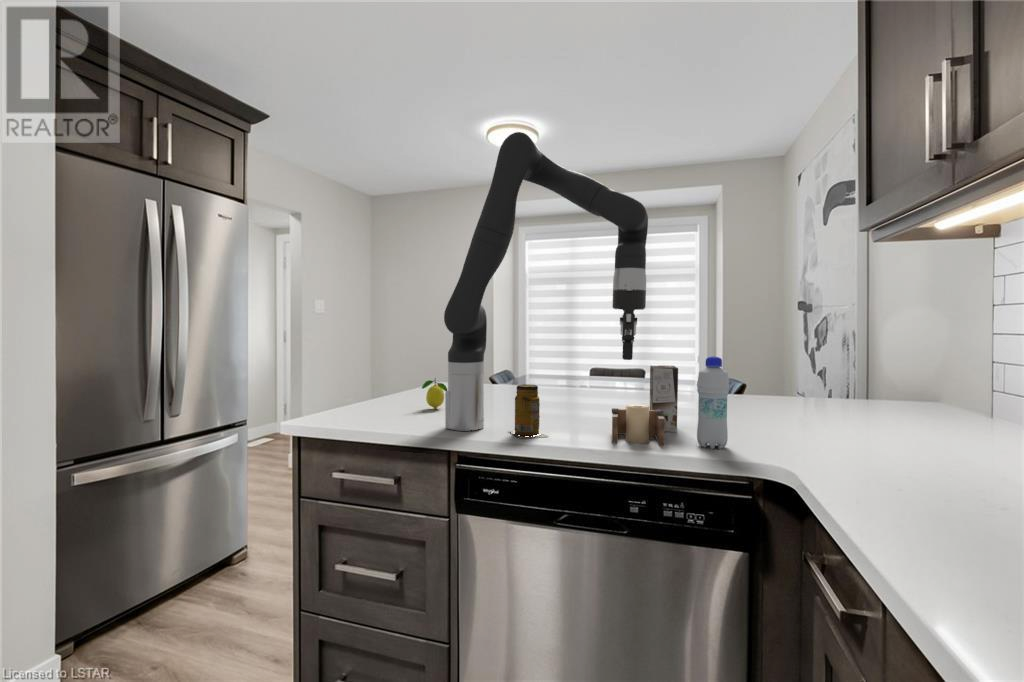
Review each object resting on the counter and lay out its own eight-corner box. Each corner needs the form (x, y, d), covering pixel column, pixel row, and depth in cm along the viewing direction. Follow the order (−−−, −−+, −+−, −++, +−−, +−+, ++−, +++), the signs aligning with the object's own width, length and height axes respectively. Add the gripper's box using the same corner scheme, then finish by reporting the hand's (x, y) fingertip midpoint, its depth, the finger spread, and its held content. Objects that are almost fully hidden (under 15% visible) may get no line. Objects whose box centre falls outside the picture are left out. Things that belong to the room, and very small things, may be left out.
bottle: (727, 444, 114) (728, 355, 113) (729, 451, 107) (731, 357, 107) (695, 442, 116) (696, 355, 115) (696, 448, 110) (697, 356, 109)
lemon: (421, 410, 157) (421, 378, 156) (427, 407, 162) (427, 376, 162) (442, 410, 156) (442, 378, 155) (447, 407, 161) (447, 376, 161)
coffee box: (678, 432, 126) (678, 368, 125) (651, 431, 127) (652, 367, 127) (673, 425, 135) (674, 365, 134) (648, 424, 136) (649, 364, 136)
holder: (611, 442, 115) (611, 412, 114) (611, 432, 126) (612, 404, 125) (665, 445, 112) (665, 414, 112) (661, 434, 123) (661, 406, 123)
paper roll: (625, 442, 115) (626, 407, 115) (625, 437, 120) (626, 403, 120) (649, 444, 114) (649, 408, 114) (648, 438, 119) (648, 404, 119)
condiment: (534, 430, 129) (534, 383, 128) (548, 437, 121) (548, 387, 120) (507, 432, 126) (507, 384, 126) (520, 439, 118) (520, 388, 118)
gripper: (613, 290, 125) (611, 355, 126) (612, 286, 111) (610, 360, 112) (644, 290, 124) (642, 357, 124) (647, 286, 110) (645, 361, 110)
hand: (627, 358), depth 118 cm, fingers open, 8 cm apart
